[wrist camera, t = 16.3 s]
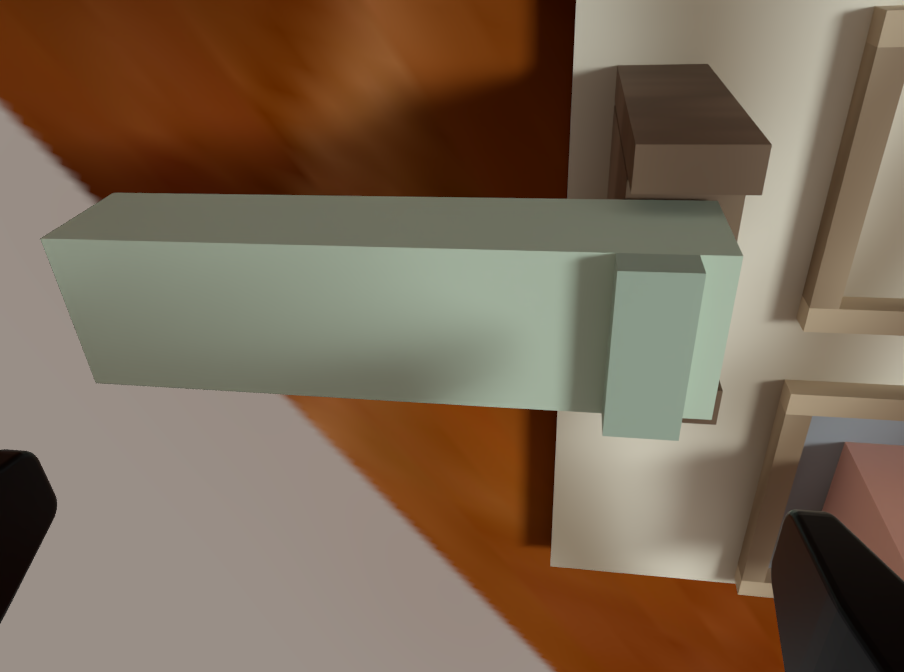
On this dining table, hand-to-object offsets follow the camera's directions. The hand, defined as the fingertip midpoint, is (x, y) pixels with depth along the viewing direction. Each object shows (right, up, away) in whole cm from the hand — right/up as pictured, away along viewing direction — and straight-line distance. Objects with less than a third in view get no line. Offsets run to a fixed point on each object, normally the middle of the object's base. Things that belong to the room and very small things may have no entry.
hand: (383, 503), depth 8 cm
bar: (0, +3, +5) cm, 6 cm away
